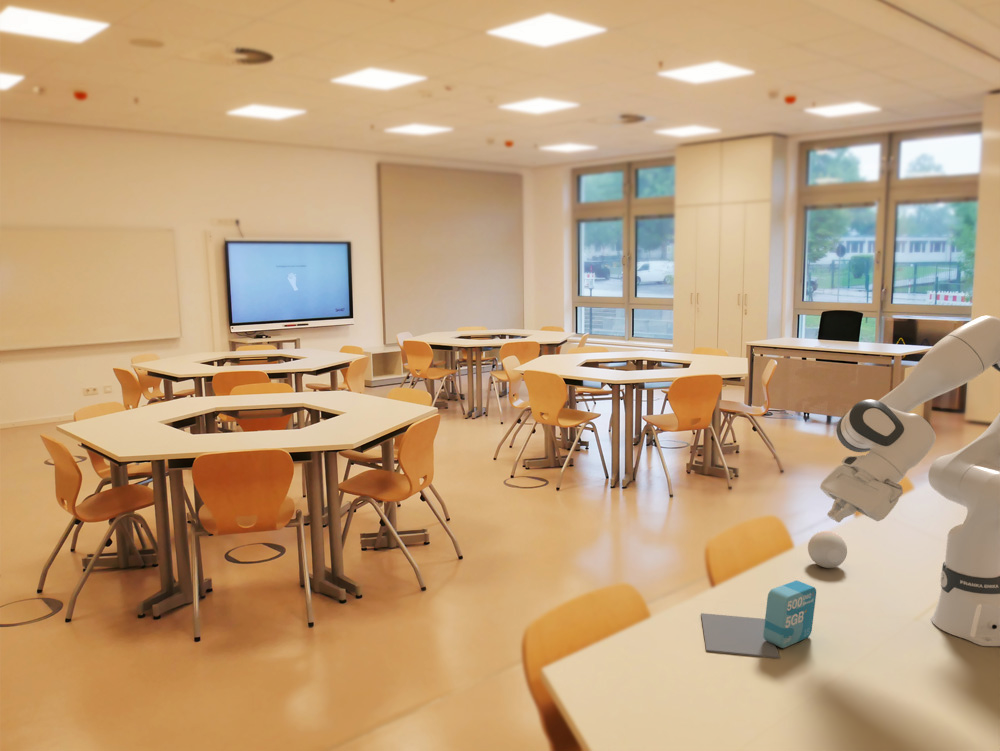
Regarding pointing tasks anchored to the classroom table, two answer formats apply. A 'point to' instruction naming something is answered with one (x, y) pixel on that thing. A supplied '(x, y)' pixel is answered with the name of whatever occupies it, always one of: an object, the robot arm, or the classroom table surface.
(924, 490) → the classroom table surface
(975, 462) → the robot arm
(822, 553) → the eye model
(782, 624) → the data package
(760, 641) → the mat
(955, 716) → the classroom table surface
